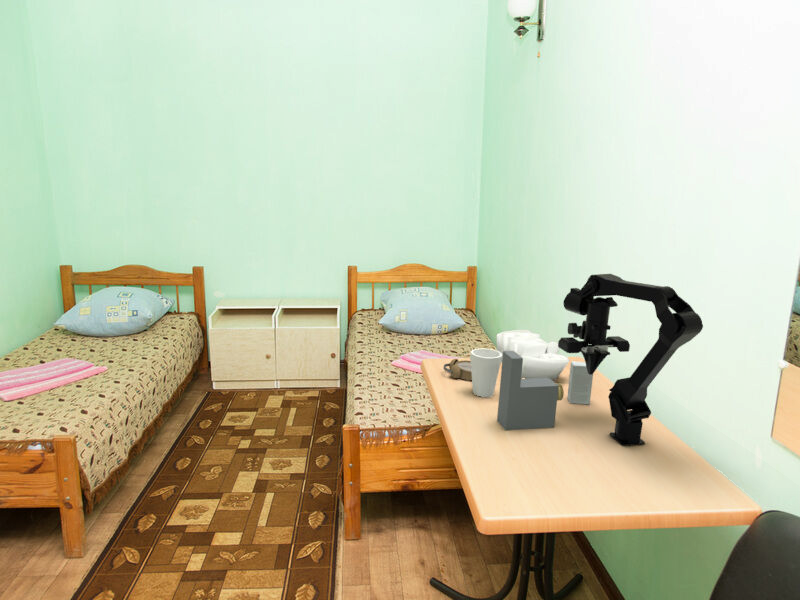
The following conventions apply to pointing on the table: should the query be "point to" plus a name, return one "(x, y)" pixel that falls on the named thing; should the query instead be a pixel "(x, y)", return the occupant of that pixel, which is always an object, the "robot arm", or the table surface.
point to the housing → (525, 397)
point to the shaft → (560, 392)
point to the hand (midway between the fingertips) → (590, 374)
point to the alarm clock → (459, 369)
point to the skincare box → (579, 383)
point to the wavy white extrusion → (533, 353)
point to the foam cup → (484, 371)
